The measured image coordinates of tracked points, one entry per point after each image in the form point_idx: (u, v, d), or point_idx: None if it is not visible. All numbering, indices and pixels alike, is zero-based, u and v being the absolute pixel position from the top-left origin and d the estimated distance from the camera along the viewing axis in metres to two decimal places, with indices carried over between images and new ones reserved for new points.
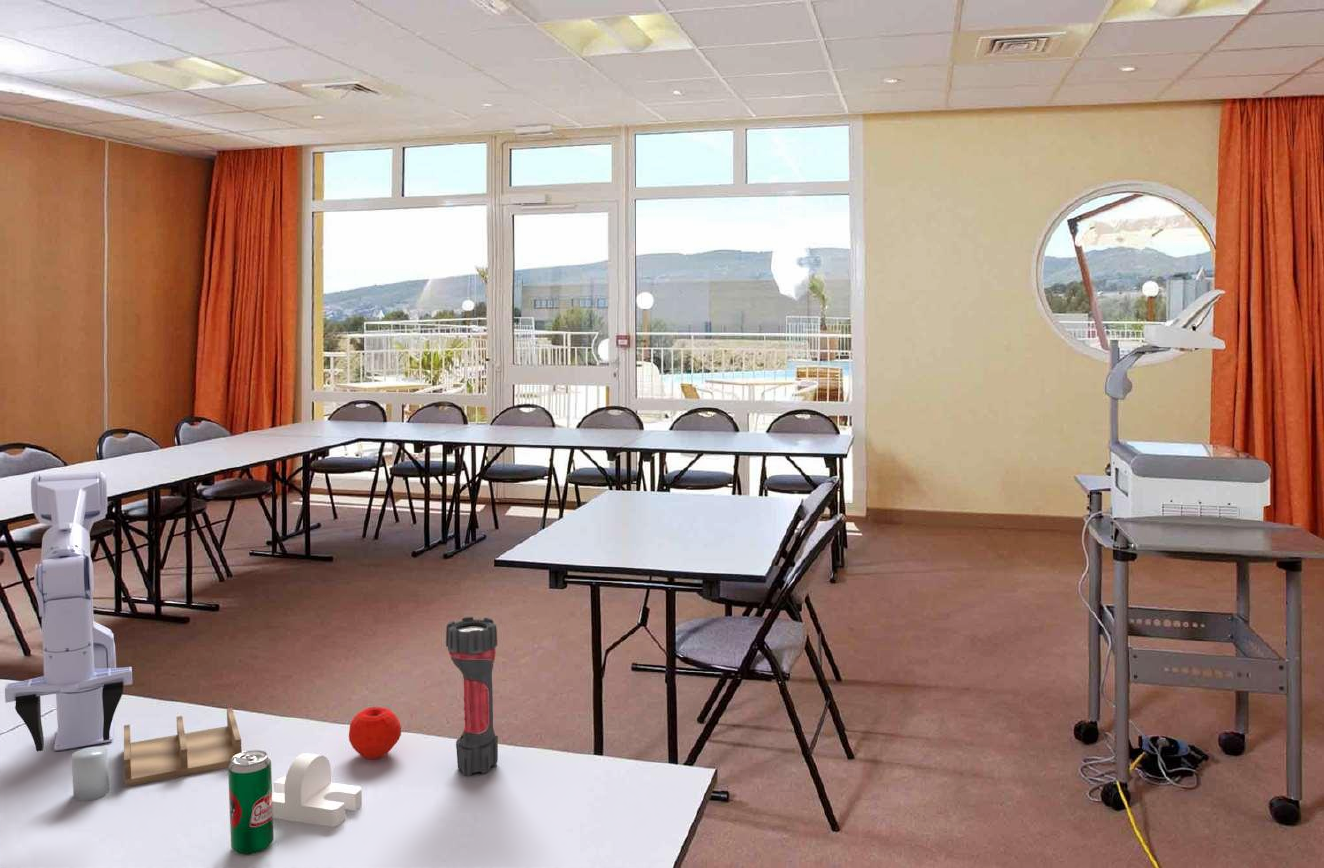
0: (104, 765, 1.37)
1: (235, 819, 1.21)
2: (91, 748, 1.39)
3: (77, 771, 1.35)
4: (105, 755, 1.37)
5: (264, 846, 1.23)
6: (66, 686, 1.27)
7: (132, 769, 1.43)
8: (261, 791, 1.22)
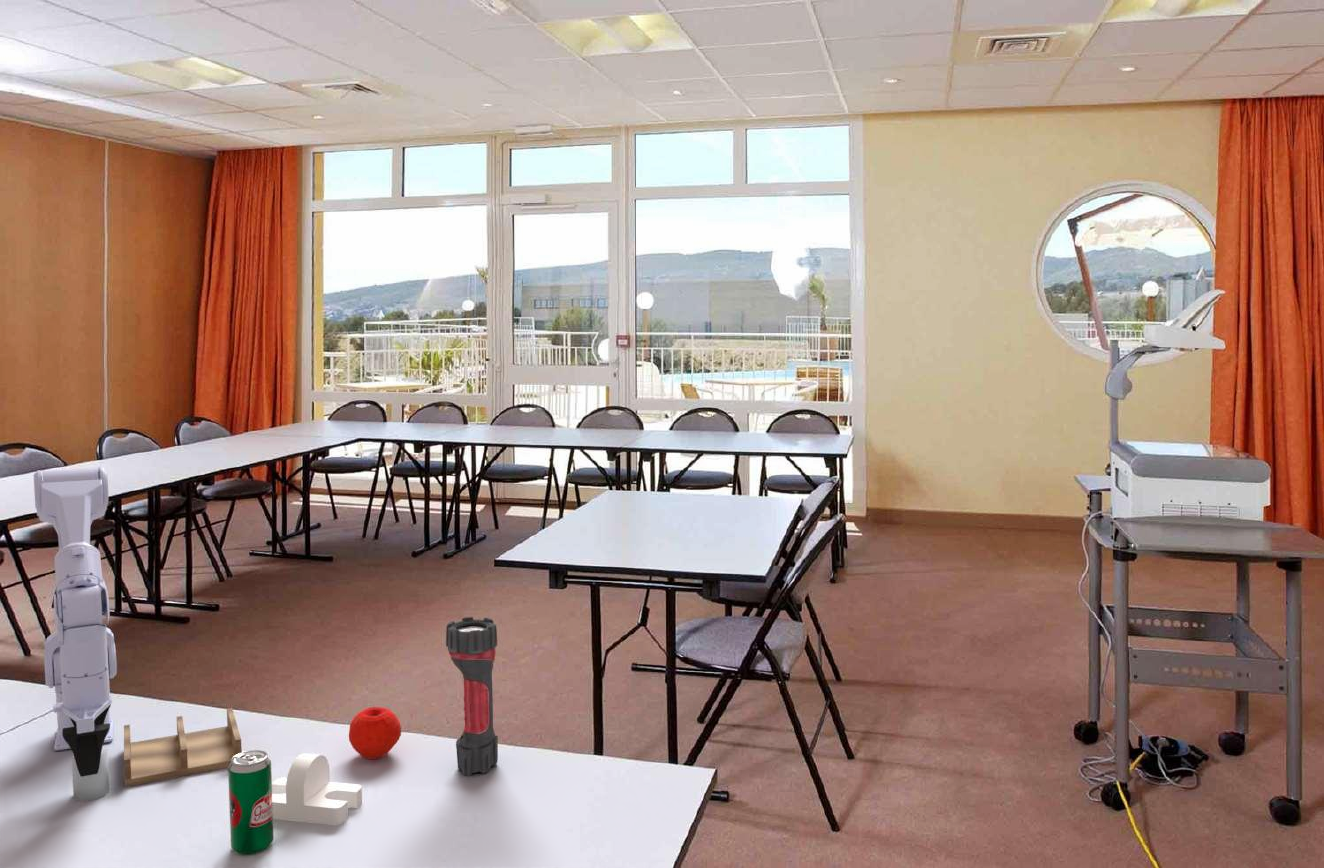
0: (104, 765, 1.37)
1: (235, 819, 1.21)
2: None
3: (77, 771, 1.35)
4: (105, 755, 1.37)
5: (264, 846, 1.23)
6: (56, 705, 1.35)
7: (132, 769, 1.43)
8: (261, 791, 1.22)
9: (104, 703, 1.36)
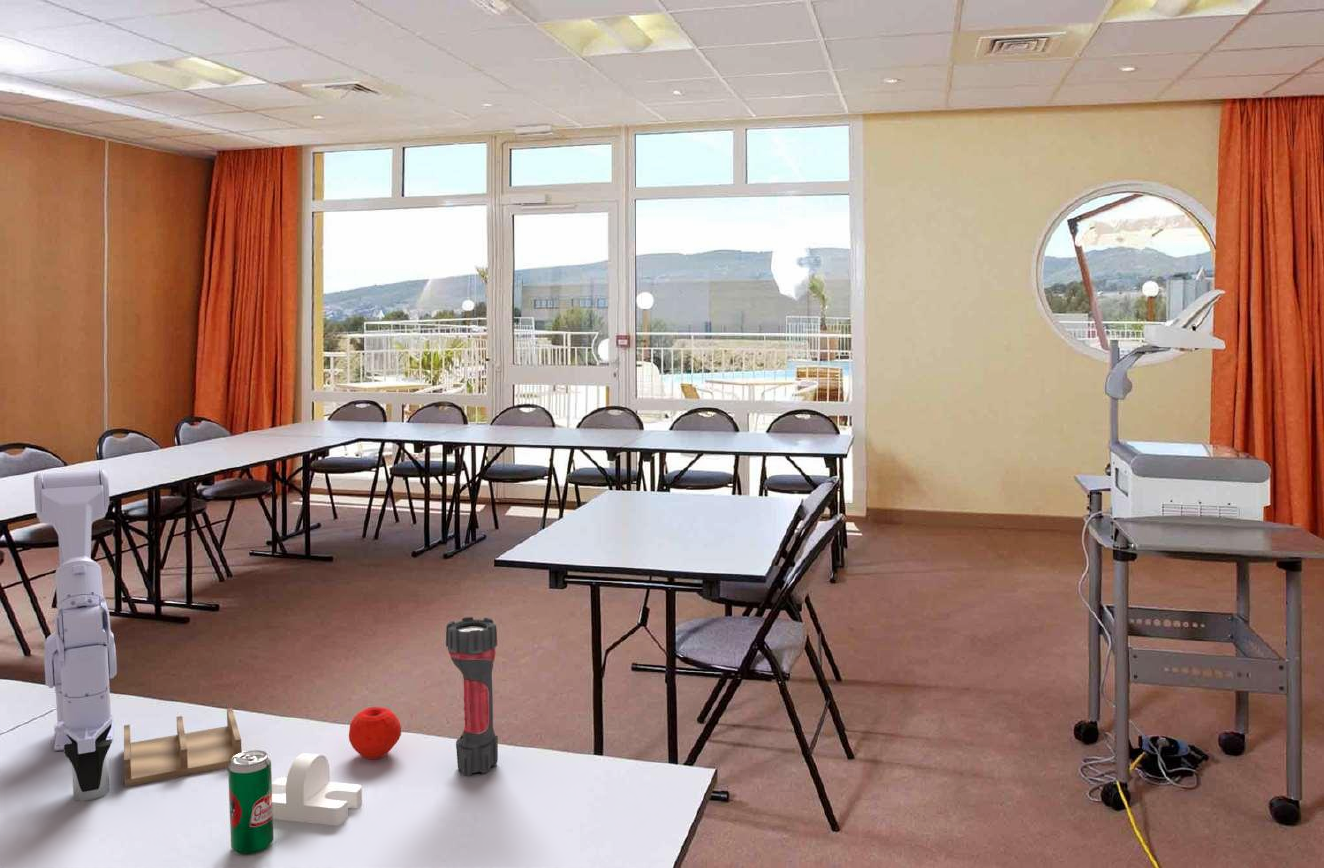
0: (104, 765, 1.37)
1: (235, 819, 1.21)
2: None
3: None
4: None
5: (264, 846, 1.23)
6: (57, 724, 1.35)
7: (132, 769, 1.43)
8: (261, 791, 1.22)
9: (105, 722, 1.36)
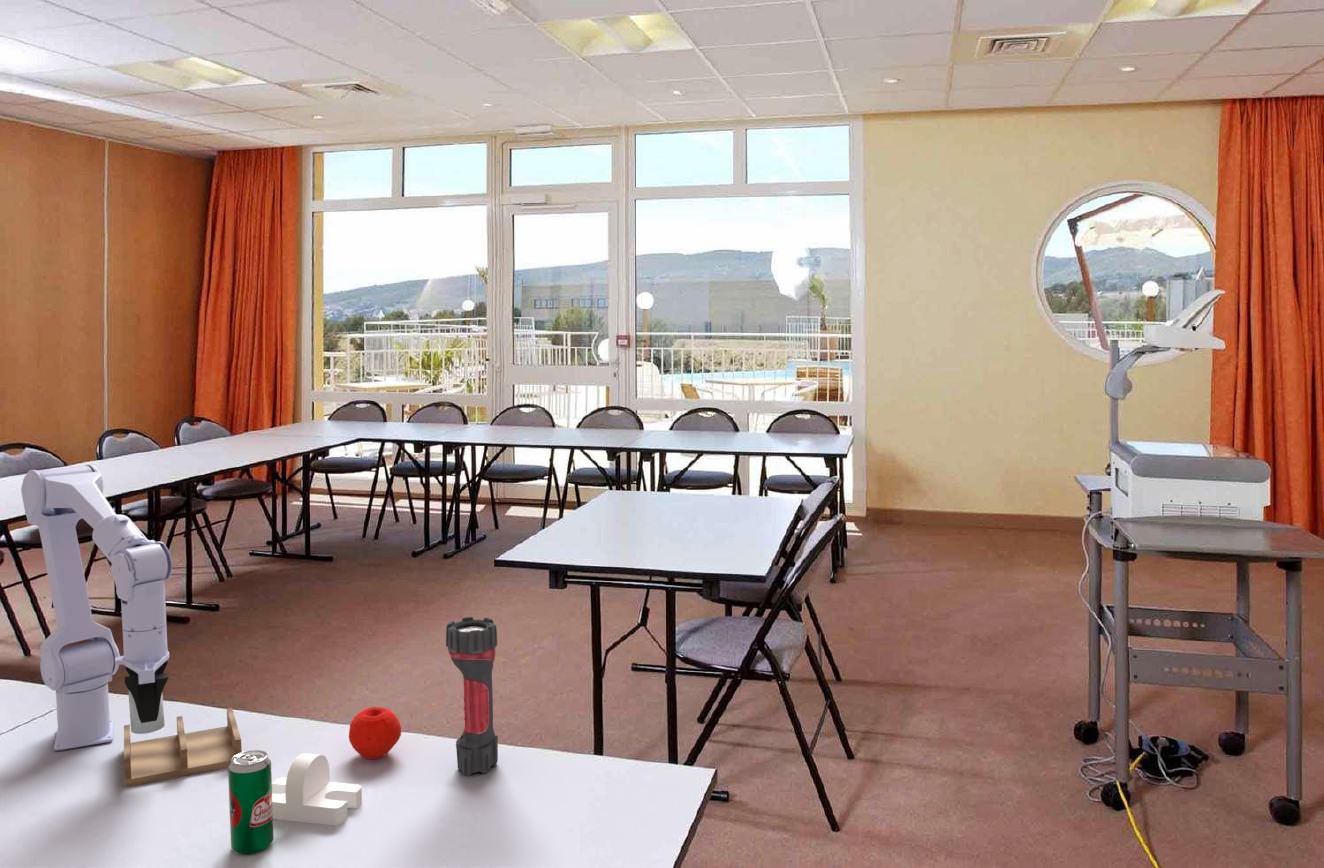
0: (160, 700, 1.43)
1: (235, 819, 1.21)
2: None
3: (135, 705, 1.41)
4: None
5: (264, 846, 1.23)
6: (117, 658, 1.41)
7: (132, 769, 1.43)
8: (261, 791, 1.22)
9: (163, 657, 1.42)
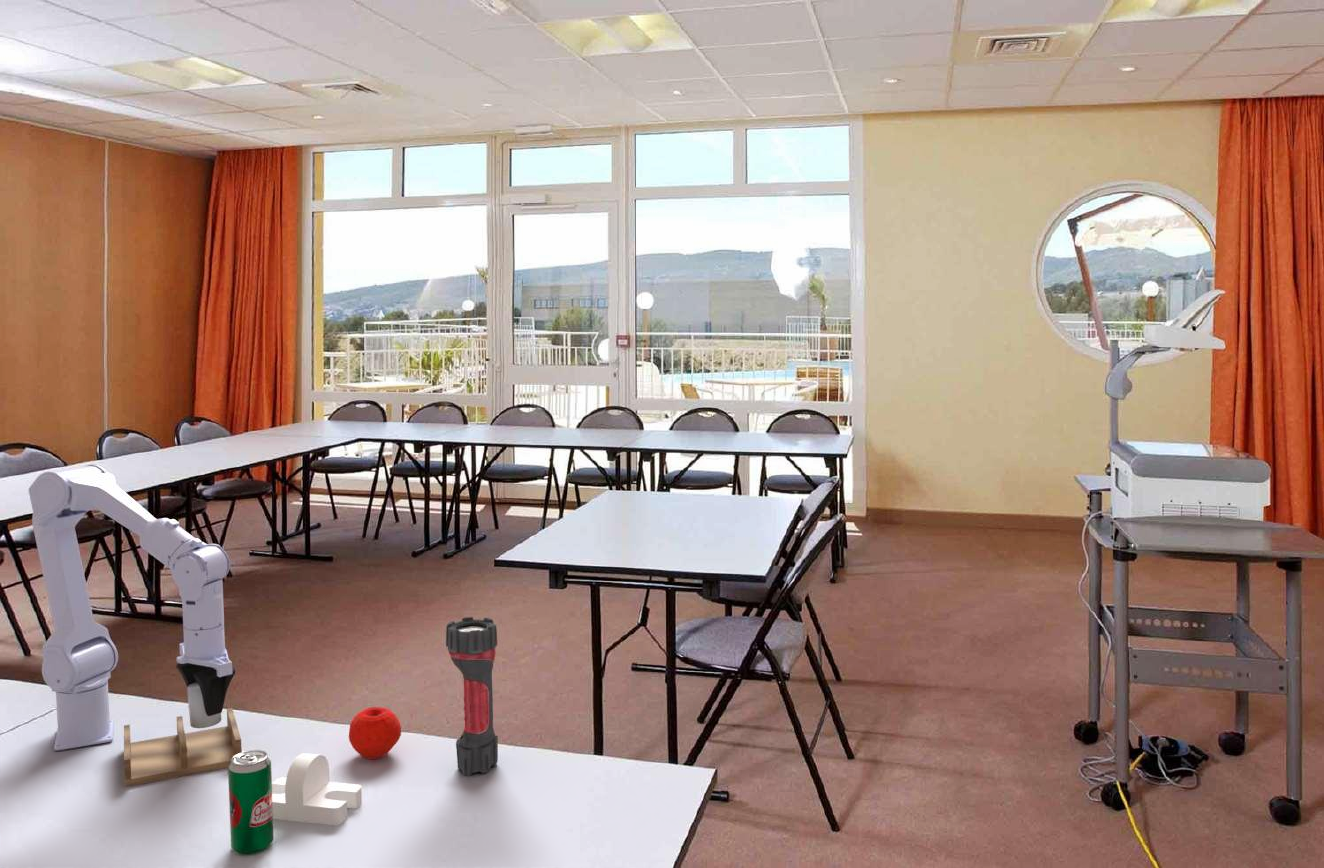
0: None
1: (235, 819, 1.21)
2: None
3: (199, 701, 1.48)
4: None
5: (264, 846, 1.23)
6: (179, 657, 1.47)
7: (132, 769, 1.43)
8: (261, 791, 1.22)
9: (225, 652, 1.50)
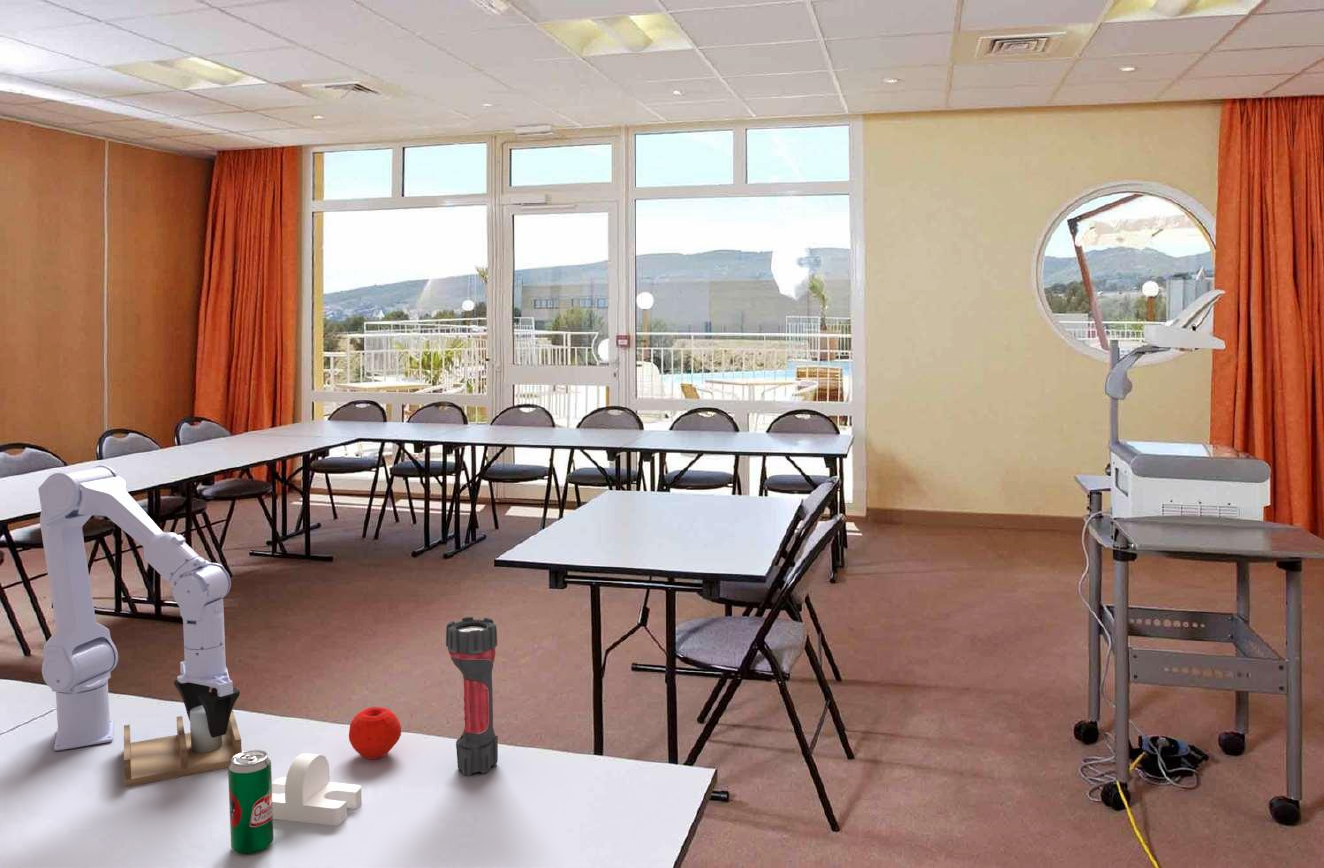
0: None
1: (235, 819, 1.21)
2: (201, 706, 1.52)
3: (201, 726, 1.49)
4: None
5: (264, 846, 1.23)
6: (180, 677, 1.48)
7: (132, 769, 1.43)
8: (261, 791, 1.22)
9: (226, 671, 1.50)
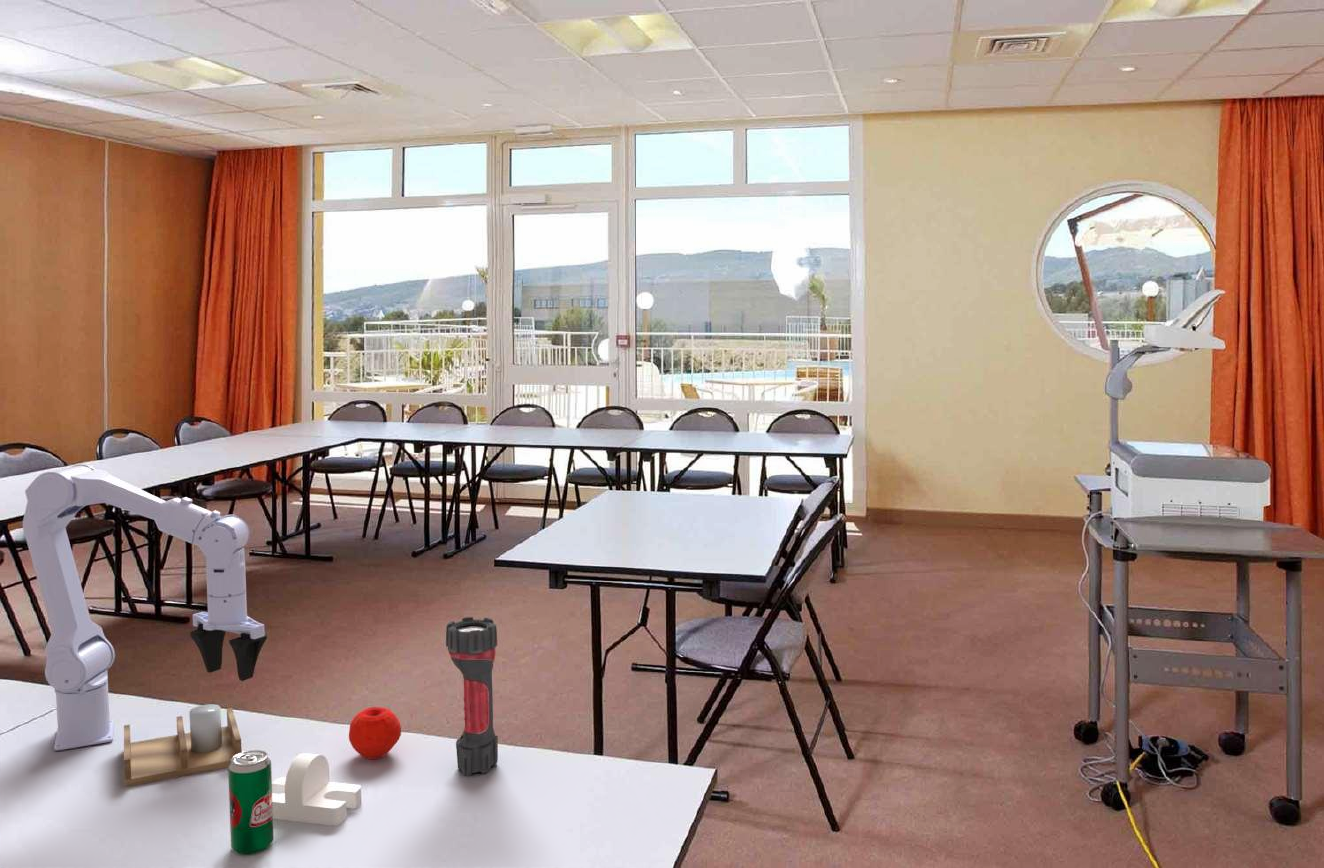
0: (220, 718, 1.51)
1: (235, 819, 1.21)
2: (200, 706, 1.52)
3: (201, 726, 1.49)
4: (220, 709, 1.52)
5: (264, 846, 1.23)
6: (206, 625, 1.52)
7: (132, 769, 1.43)
8: (261, 791, 1.22)
9: (248, 617, 1.56)
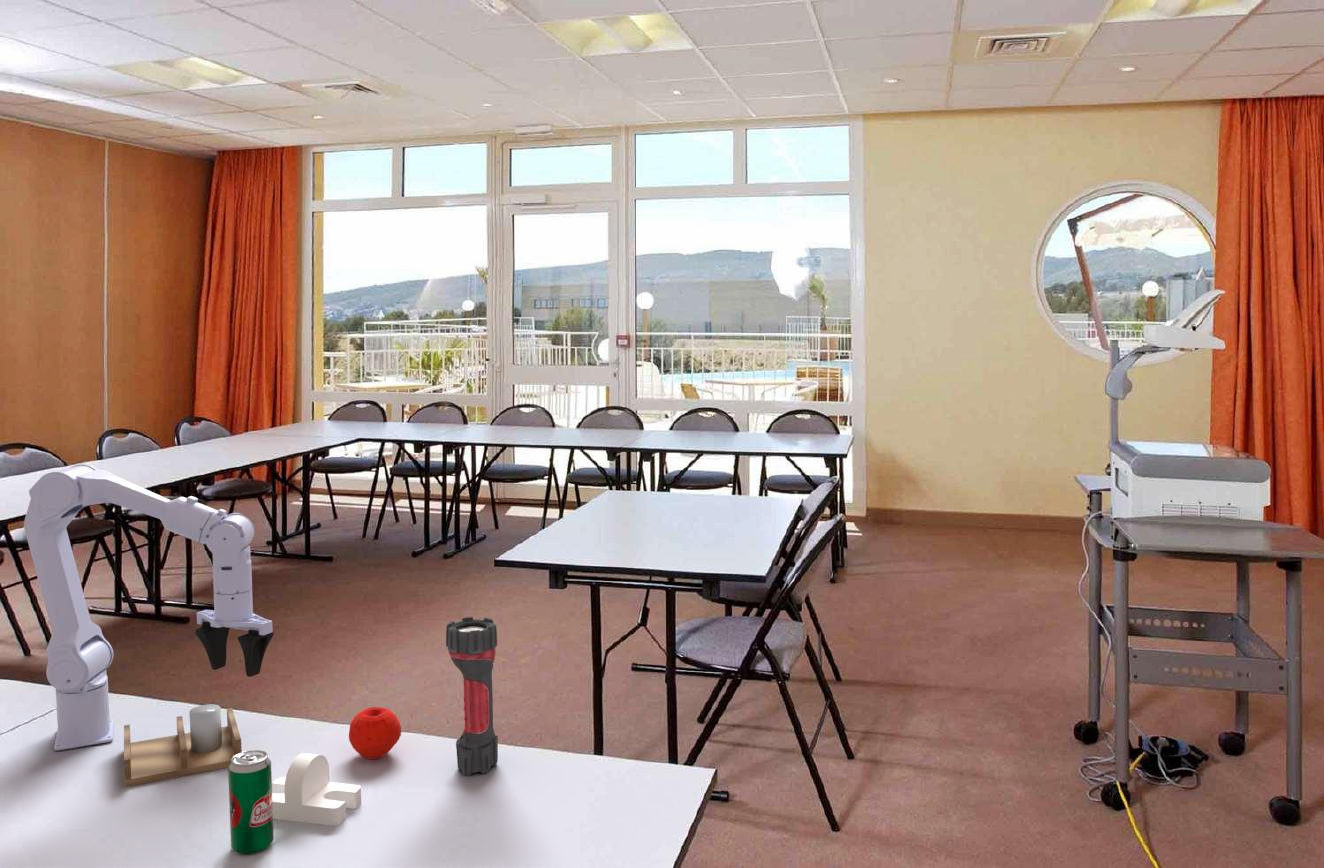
0: (220, 718, 1.51)
1: (235, 819, 1.21)
2: (200, 706, 1.52)
3: (201, 726, 1.49)
4: (220, 709, 1.52)
5: (264, 846, 1.23)
6: (214, 622, 1.54)
7: (132, 769, 1.43)
8: (261, 791, 1.22)
9: (254, 614, 1.58)
